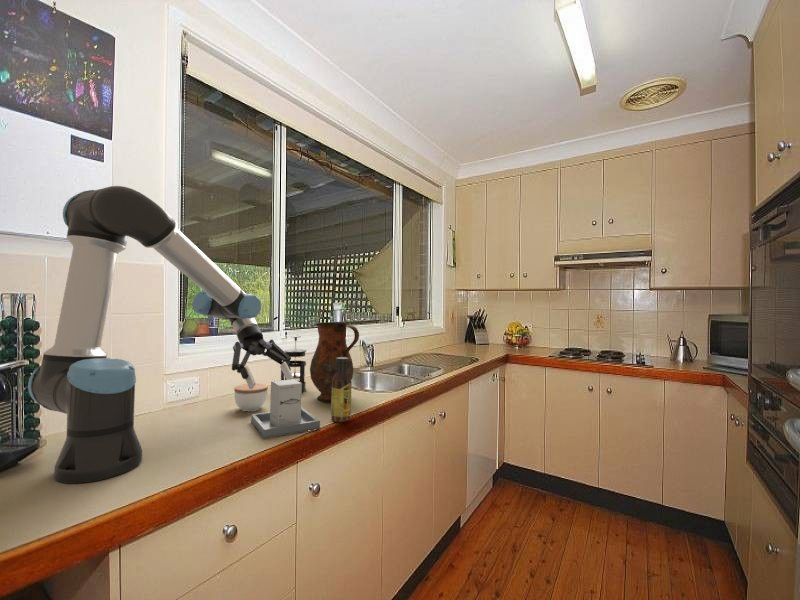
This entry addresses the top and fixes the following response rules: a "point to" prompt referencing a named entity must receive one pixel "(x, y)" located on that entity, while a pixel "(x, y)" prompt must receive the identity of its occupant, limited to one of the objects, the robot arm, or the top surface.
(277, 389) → the supplement box
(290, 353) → the french press
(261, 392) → the lidded jar
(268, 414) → the tray
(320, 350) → the pitcher
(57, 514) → the top surface
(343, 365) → the sauce bottle
